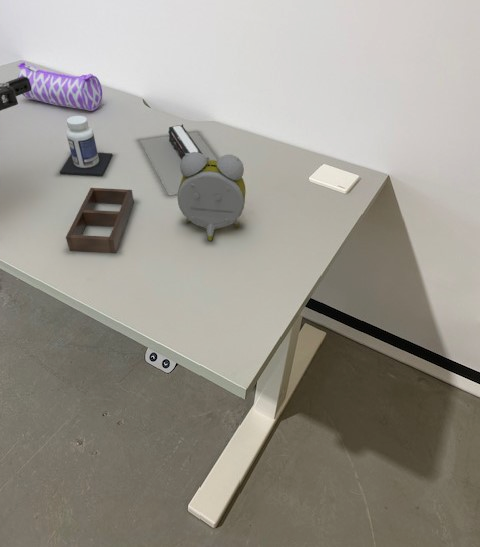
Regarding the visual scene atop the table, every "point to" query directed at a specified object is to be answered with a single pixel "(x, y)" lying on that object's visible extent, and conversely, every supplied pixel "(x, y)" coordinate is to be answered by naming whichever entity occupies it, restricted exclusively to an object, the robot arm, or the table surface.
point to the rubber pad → (96, 170)
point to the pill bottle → (81, 142)
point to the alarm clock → (211, 191)
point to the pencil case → (62, 88)
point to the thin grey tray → (173, 154)
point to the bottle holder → (100, 220)
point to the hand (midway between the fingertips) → (11, 76)
